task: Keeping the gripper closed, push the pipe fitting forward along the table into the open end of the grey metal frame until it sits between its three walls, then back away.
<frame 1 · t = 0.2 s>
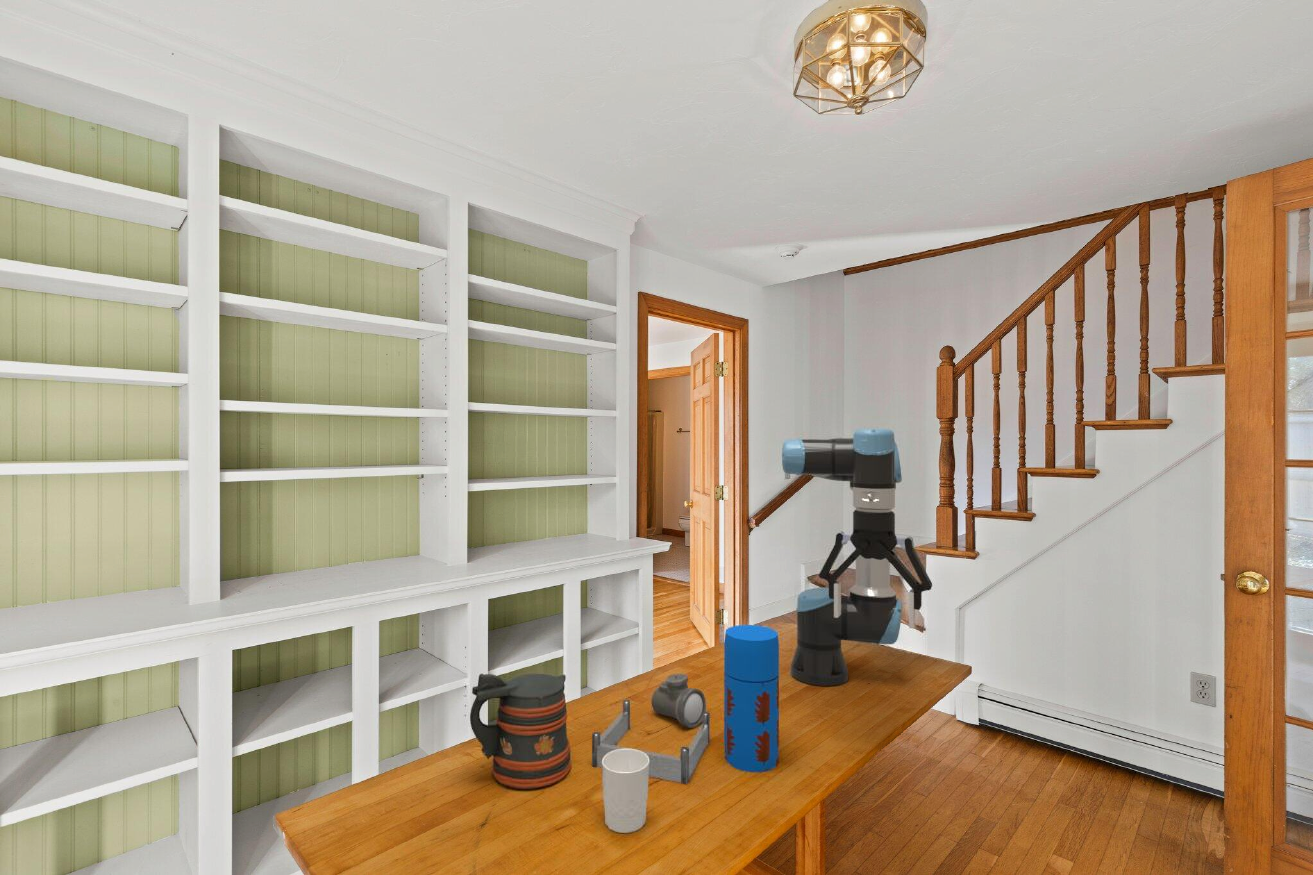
hand: (873, 621, 116), 29 cm above the table, fingers open, 13 cm apart
thermos: (751, 759, 121), on the table
pipe fitting: (676, 720, 138), on the table
grey metal frame: (653, 751, 123), on the table
beer stein: (521, 774, 115), on the table
white cup: (625, 821, 100), on the table
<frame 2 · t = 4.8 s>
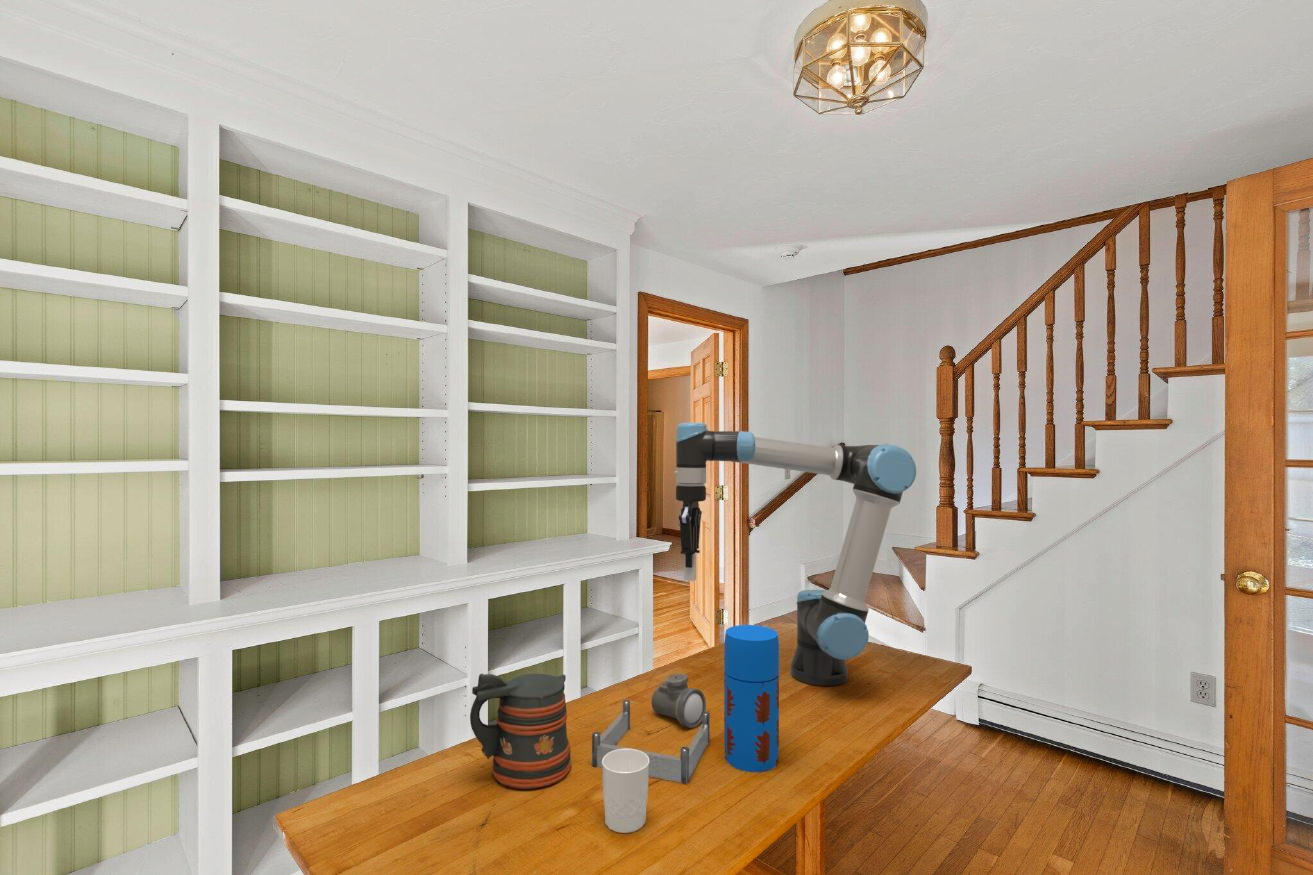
hand: (690, 579, 150), 29 cm above the table, fingers closed
nothing on the table moved.
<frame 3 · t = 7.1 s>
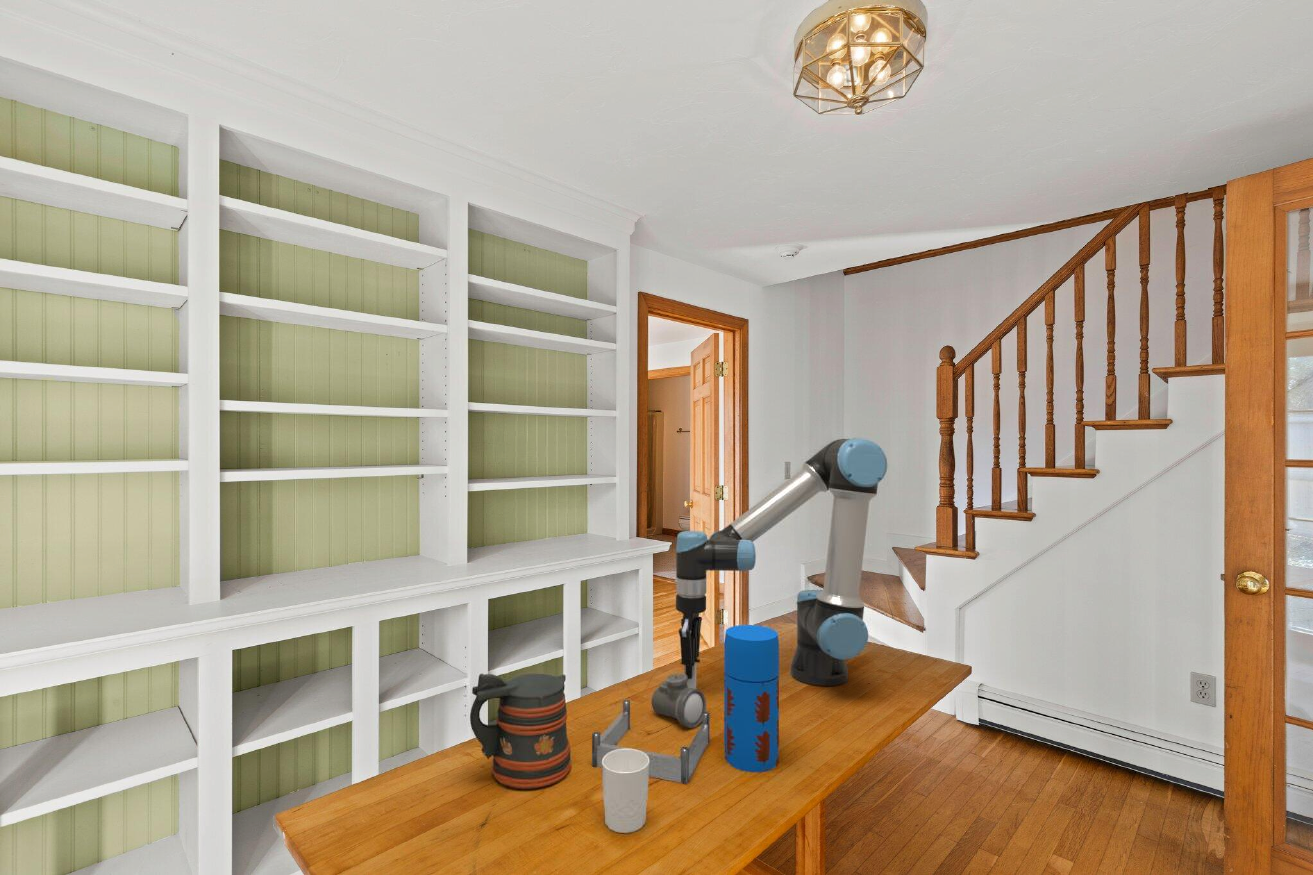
hand: (690, 690, 150), 2 cm above the table, fingers closed
nothing on the table moved.
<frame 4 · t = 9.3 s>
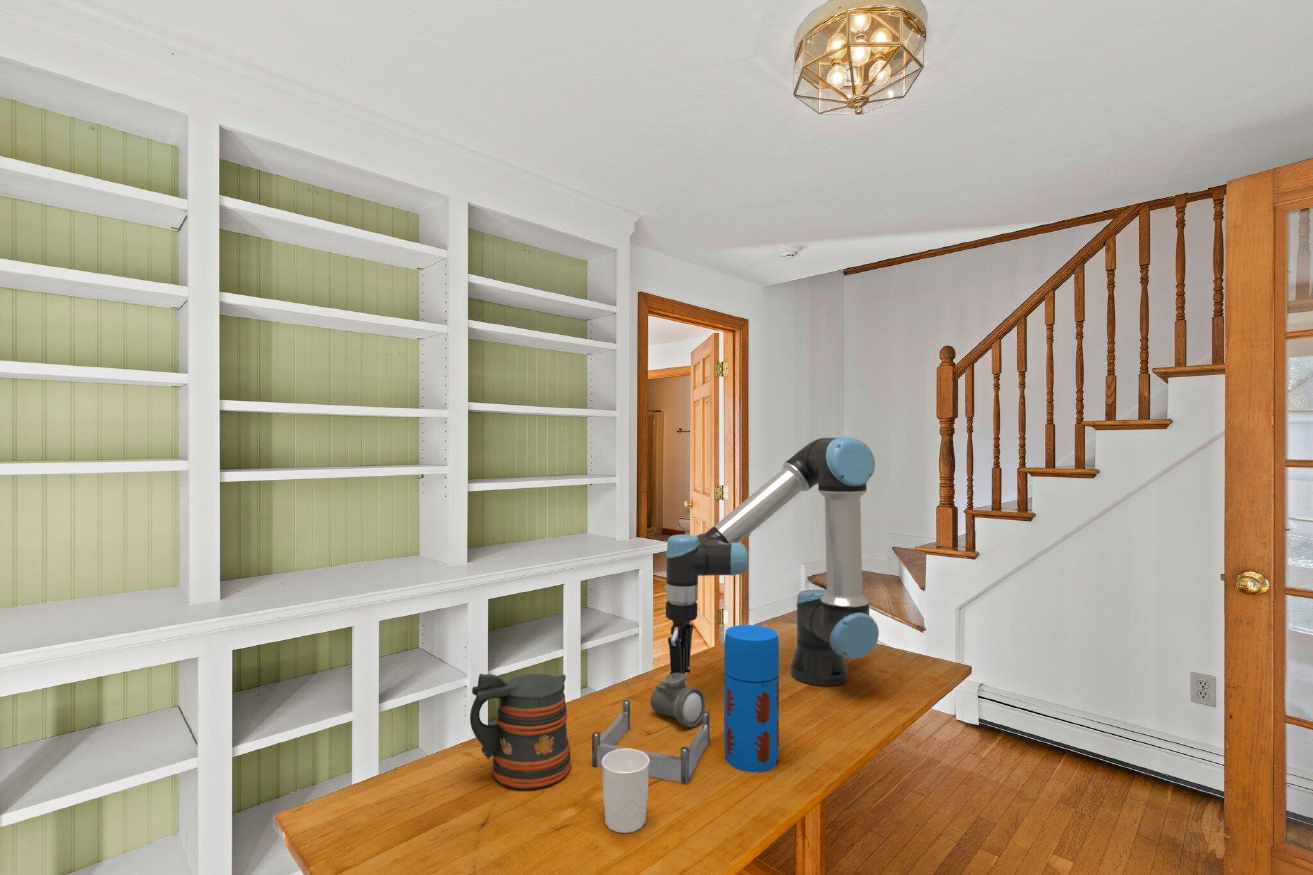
hand: (679, 701, 143), 2 cm above the table, fingers closed
pipe fitting: (676, 718, 138), on the table, touching gripper, hand
everything else where it was.
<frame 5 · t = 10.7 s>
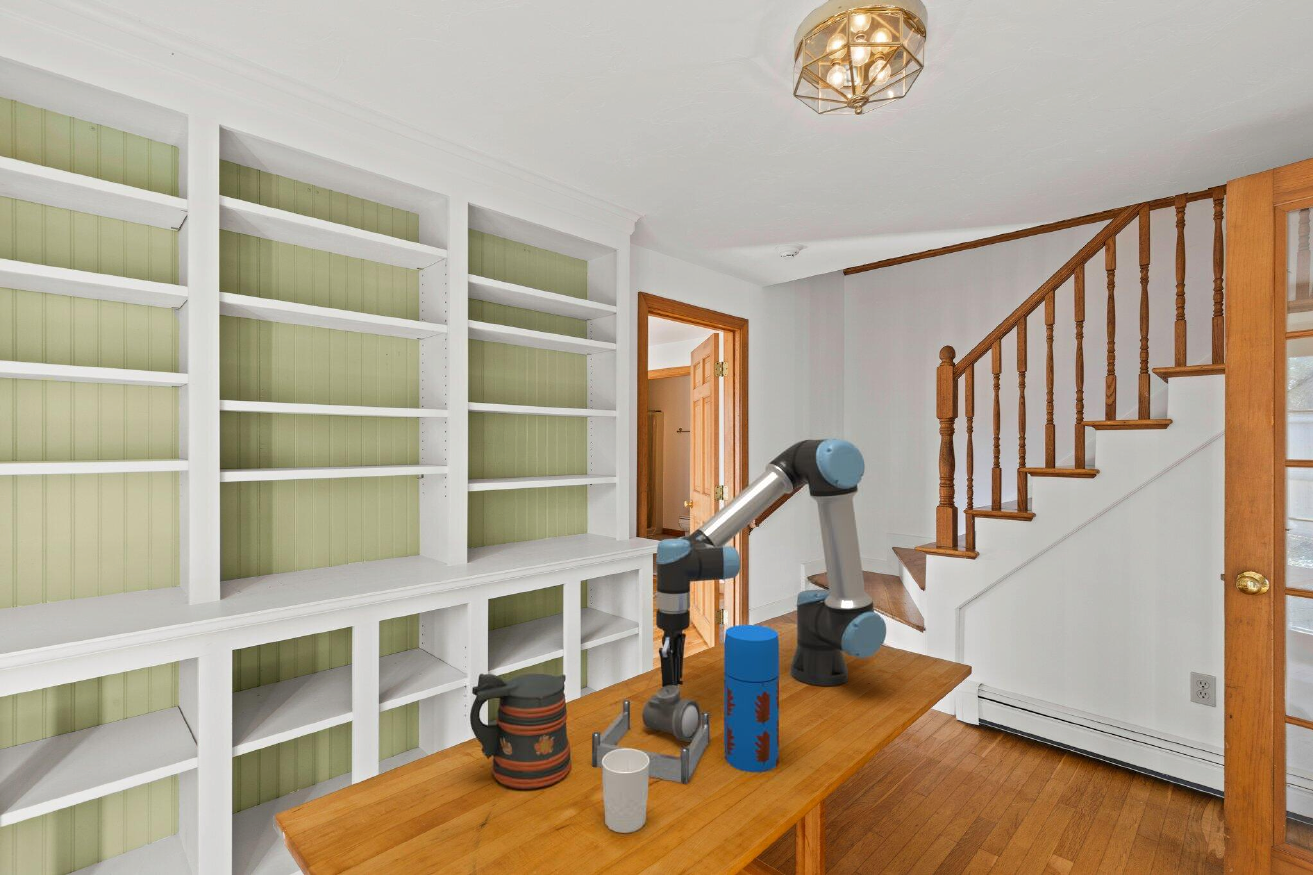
hand: (672, 714, 135), 2 cm above the table, fingers closed
pipe fitting: (671, 733, 131), on the table, touching gripper, hand
everything else where it was.
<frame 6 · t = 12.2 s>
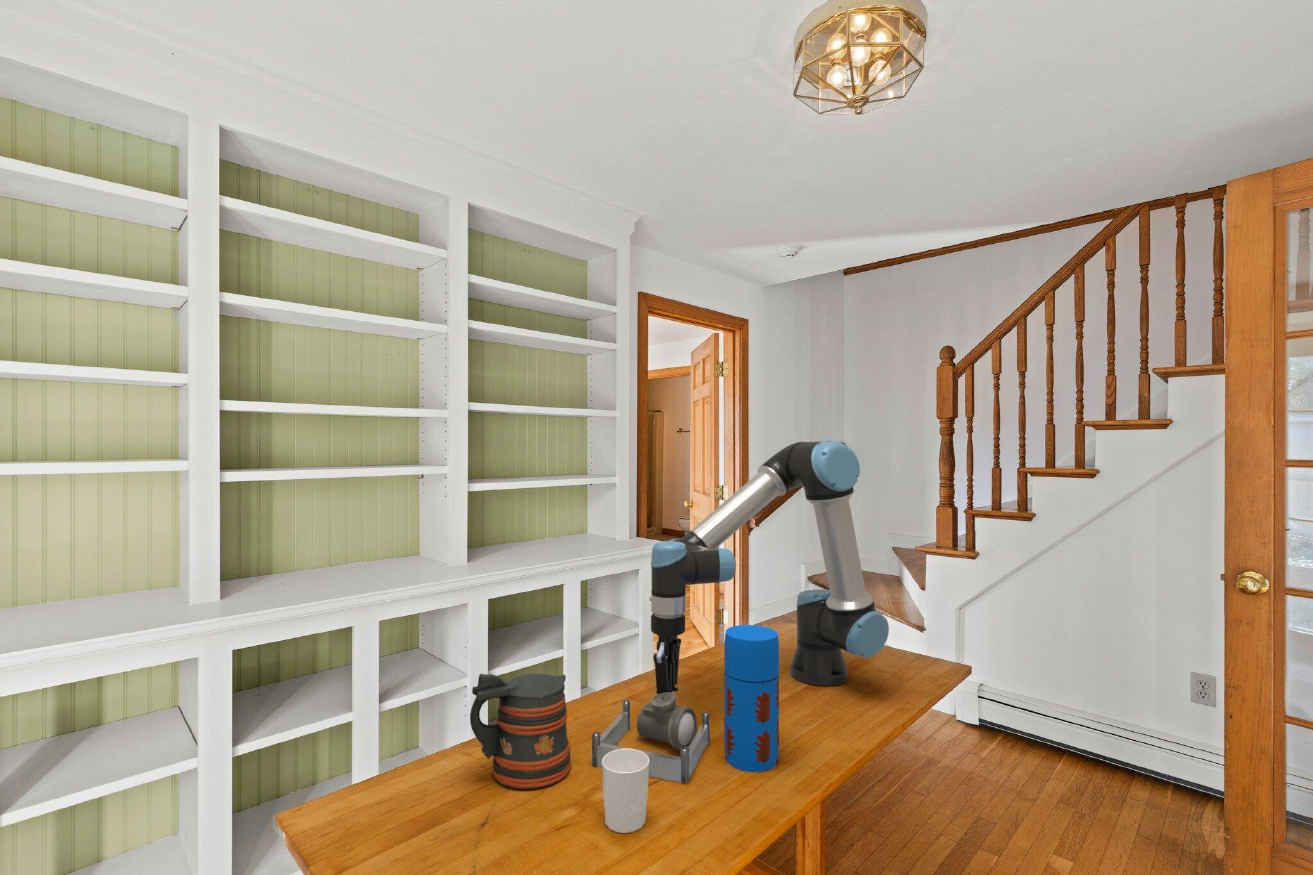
hand: (667, 722, 132), 2 cm above the table, fingers closed
pipe fitting: (666, 741, 127), on the table, touching gripper, hand
everything else where it was.
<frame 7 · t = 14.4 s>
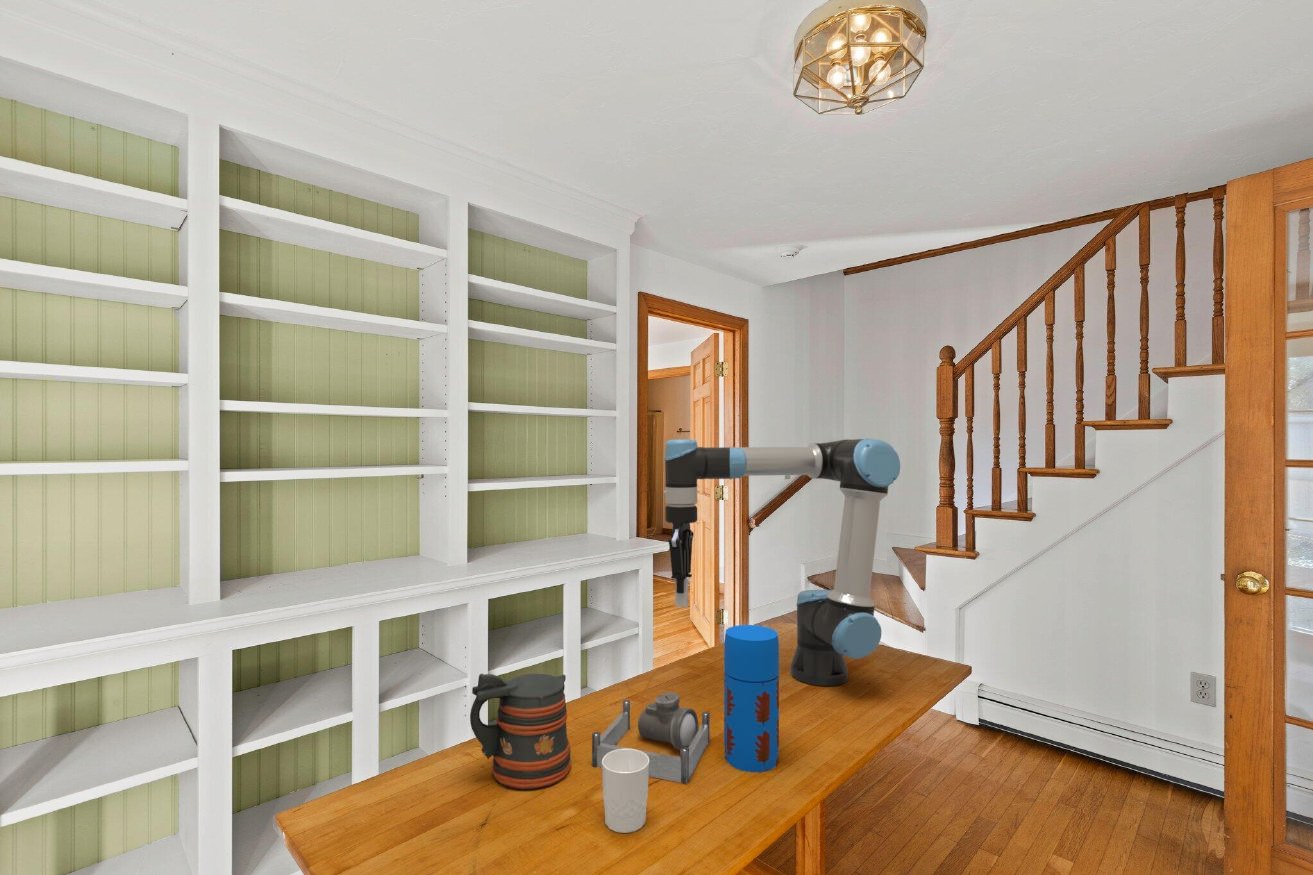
hand: (681, 606, 141), 25 cm above the table, fingers closed
pipe fitting: (666, 743, 127), on the table
everything else where it was.
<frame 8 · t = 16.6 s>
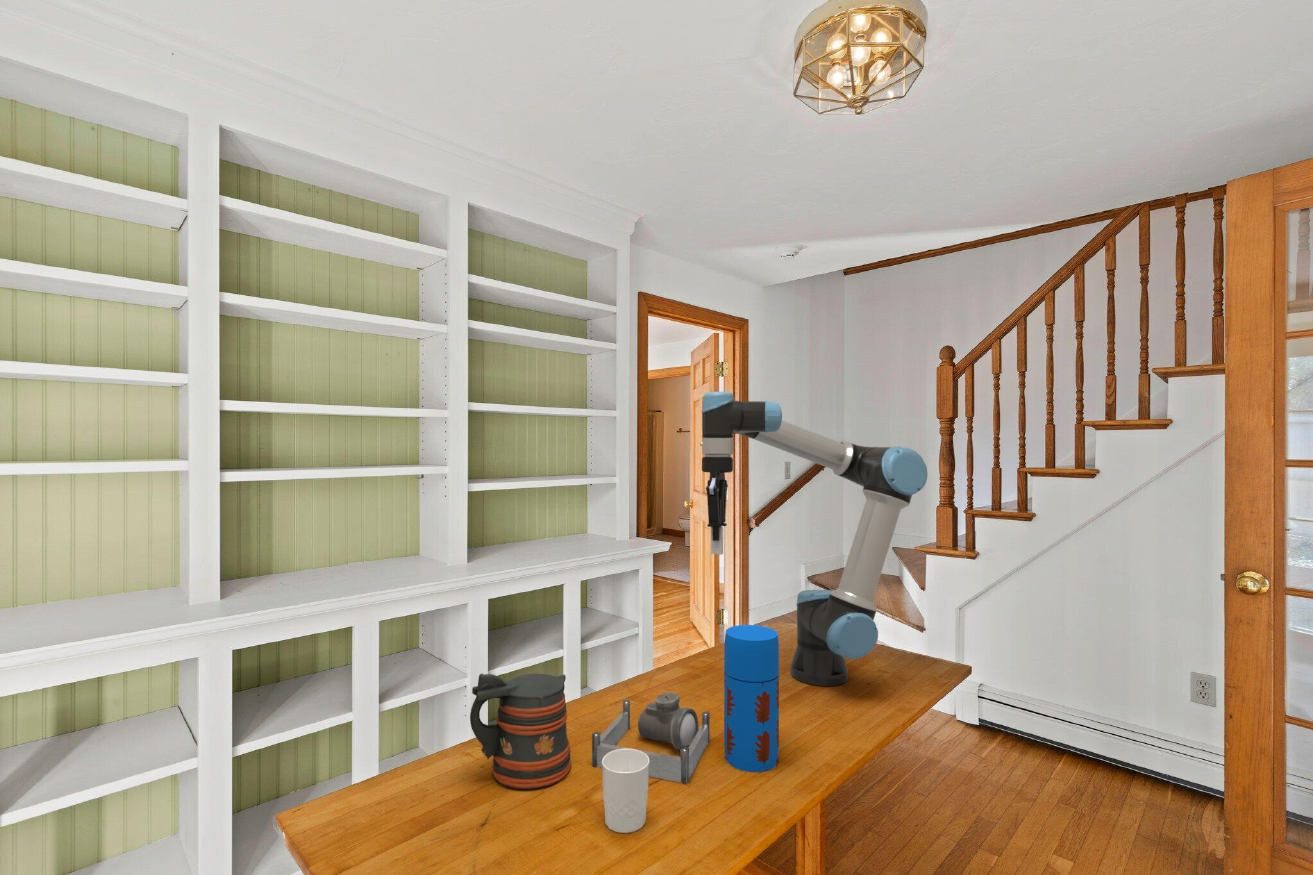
hand: (717, 553, 146), 36 cm above the table, fingers closed
nothing on the table moved.
at the end: pipe fitting inside the target area on the grey metal frame (4.9 cm from its centre), point 0.0 cm above the grey metal frame's base; pipe fitting moved 11.4 cm from its start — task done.
